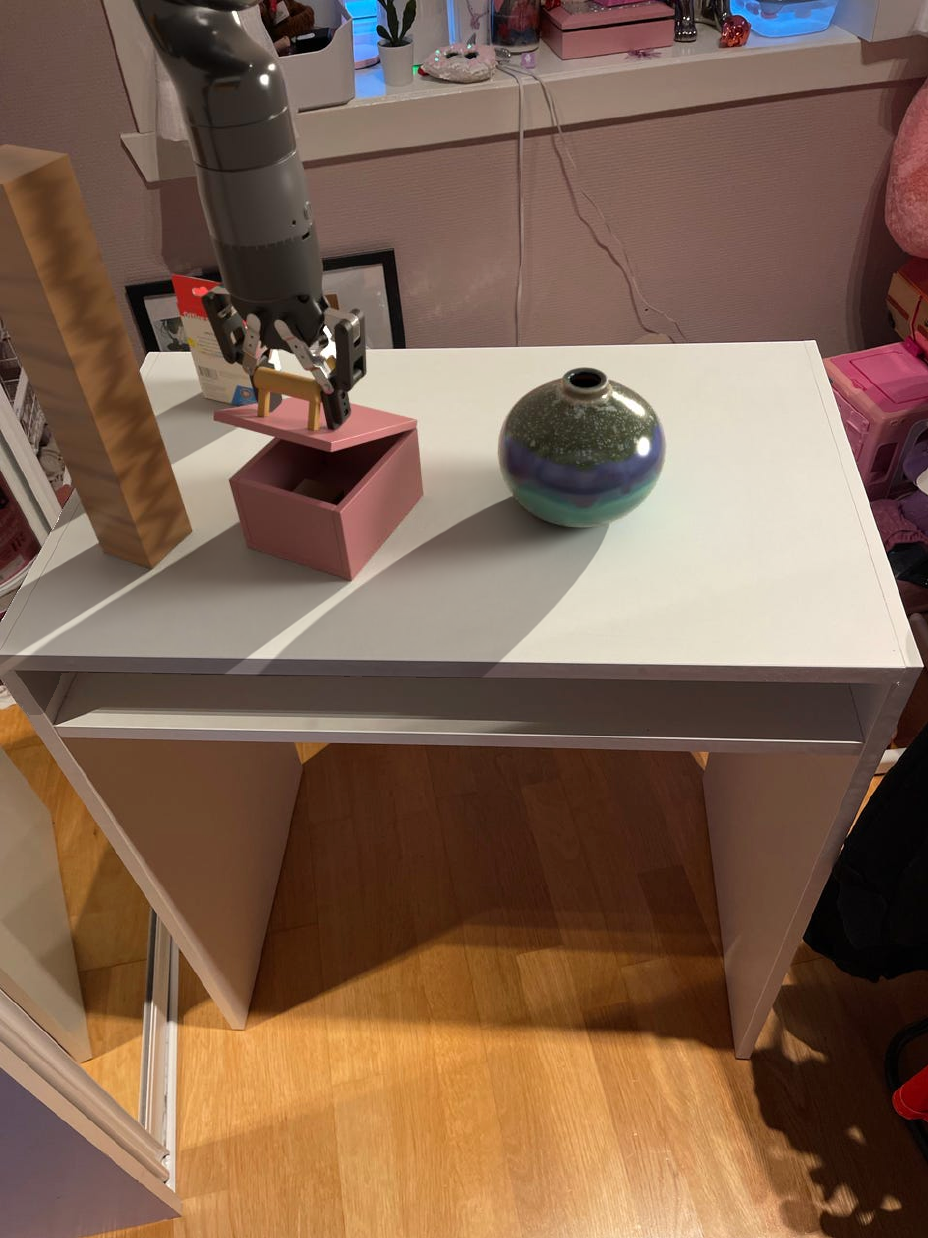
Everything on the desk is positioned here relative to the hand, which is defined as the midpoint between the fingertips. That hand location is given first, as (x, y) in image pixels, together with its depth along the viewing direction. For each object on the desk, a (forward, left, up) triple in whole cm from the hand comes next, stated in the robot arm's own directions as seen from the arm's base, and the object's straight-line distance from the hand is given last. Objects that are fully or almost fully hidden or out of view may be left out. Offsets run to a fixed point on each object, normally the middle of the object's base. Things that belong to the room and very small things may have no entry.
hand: (305, 415), depth 77 cm
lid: (+2, 0, -2) cm, 3 cm away
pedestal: (-8, +15, -13) cm, 21 cm away
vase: (+14, -20, -13) cm, 28 cm away
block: (-1, 0, -12) cm, 12 cm away
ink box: (+17, +22, -13) cm, 31 cm away
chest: (+2, 0, -13) cm, 13 cm away
